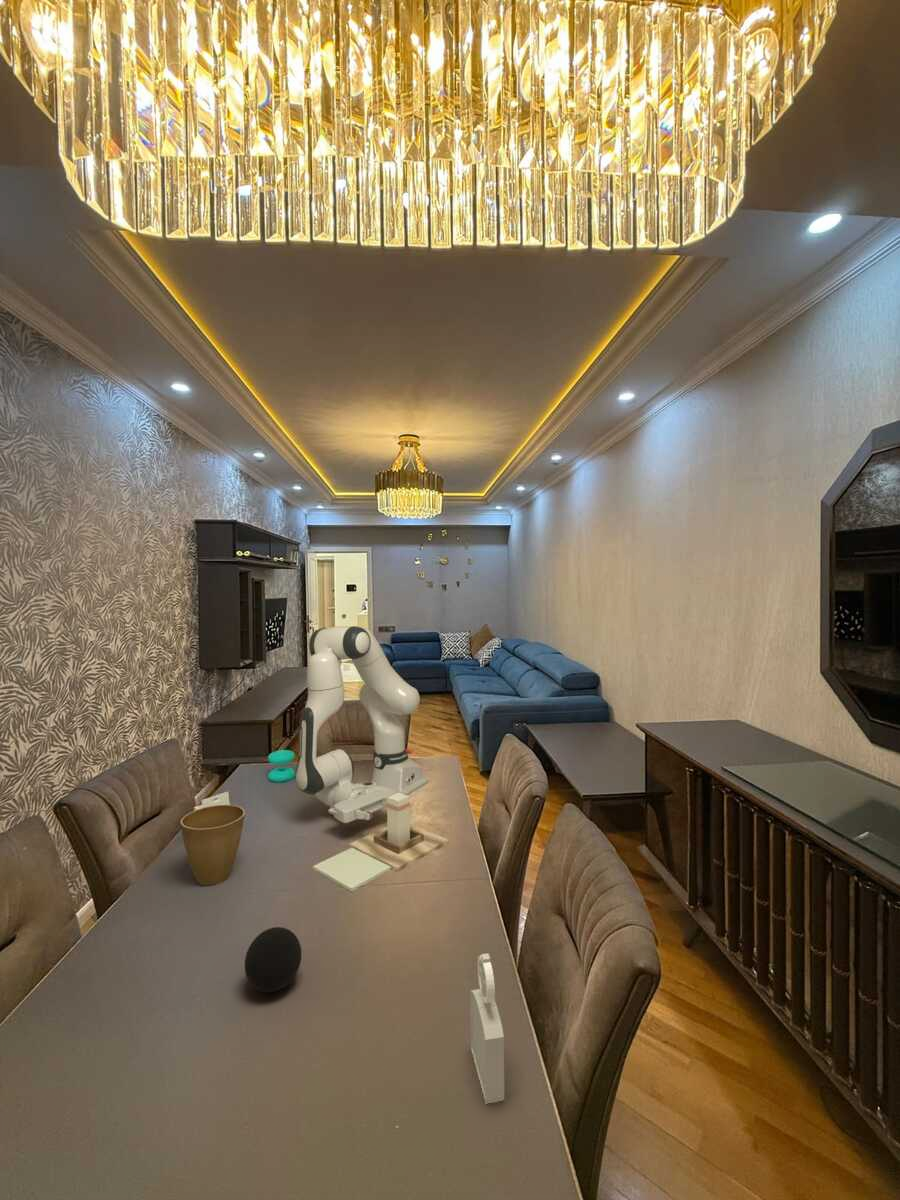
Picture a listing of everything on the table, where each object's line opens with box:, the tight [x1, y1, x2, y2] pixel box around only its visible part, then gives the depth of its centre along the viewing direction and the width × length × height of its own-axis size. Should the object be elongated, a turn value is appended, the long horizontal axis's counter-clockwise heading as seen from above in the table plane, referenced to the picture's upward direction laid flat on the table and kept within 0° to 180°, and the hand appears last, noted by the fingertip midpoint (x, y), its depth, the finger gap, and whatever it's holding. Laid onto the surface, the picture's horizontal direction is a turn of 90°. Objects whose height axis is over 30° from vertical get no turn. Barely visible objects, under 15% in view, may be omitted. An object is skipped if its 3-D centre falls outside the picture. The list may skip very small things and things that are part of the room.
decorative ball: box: [244, 926, 302, 993], centre depth 98 cm, size 10×10×10 cm
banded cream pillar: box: [386, 793, 411, 846], centre depth 151 cm, size 5×5×14 cm
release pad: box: [312, 848, 392, 892], centre depth 139 cm, size 13×16×1 cm
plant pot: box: [180, 804, 246, 886], centre depth 135 cm, size 15×15×16 cm
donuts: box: [267, 749, 296, 783], centre depth 206 cm, size 10×10×10 cm
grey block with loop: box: [469, 953, 505, 1105], centre depth 80 cm, size 3×9×18 cm, turn 11°
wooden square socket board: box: [348, 823, 449, 872], centre depth 151 cm, size 20×20×3 cm
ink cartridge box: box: [193, 791, 231, 811], centre depth 153 cm, size 9×5×15 cm, turn 143°
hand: (382, 811), depth 155 cm, fingers open, 8 cm apart
